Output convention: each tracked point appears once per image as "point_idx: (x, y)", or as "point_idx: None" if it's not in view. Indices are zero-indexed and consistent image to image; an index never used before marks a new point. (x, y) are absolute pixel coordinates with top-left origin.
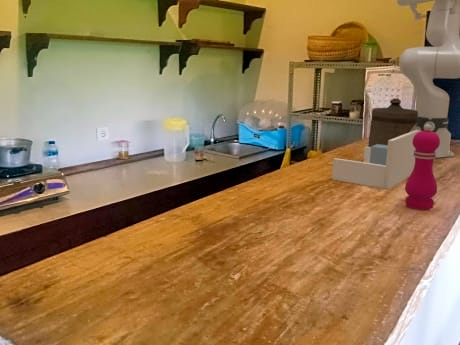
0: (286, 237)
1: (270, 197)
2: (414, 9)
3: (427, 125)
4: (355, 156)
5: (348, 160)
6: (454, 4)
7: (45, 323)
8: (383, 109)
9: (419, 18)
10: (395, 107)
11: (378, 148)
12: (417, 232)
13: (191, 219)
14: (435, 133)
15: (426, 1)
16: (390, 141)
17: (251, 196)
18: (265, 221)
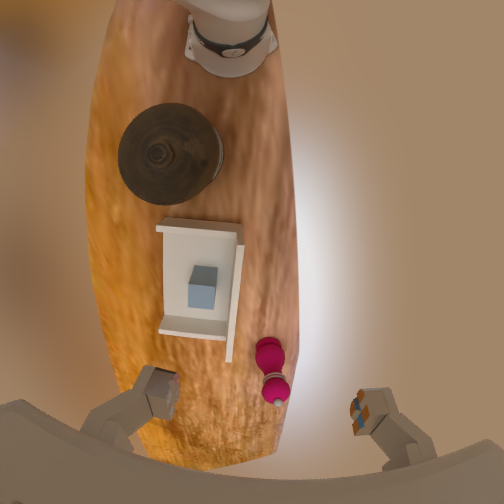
0: (208, 424)
1: None
2: (128, 430)
3: (278, 406)
4: None
5: (177, 333)
6: (384, 446)
7: None
8: (143, 175)
9: (177, 393)
10: (167, 167)
11: (199, 307)
12: None
13: (148, 421)
14: (286, 398)
15: (188, 473)
16: (228, 361)
17: None
18: (183, 413)
